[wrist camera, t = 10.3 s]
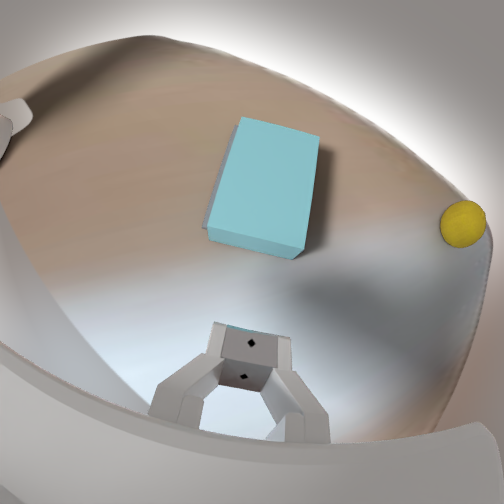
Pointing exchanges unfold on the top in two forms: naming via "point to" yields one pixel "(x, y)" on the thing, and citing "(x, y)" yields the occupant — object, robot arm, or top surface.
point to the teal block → (266, 190)
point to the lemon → (463, 224)
